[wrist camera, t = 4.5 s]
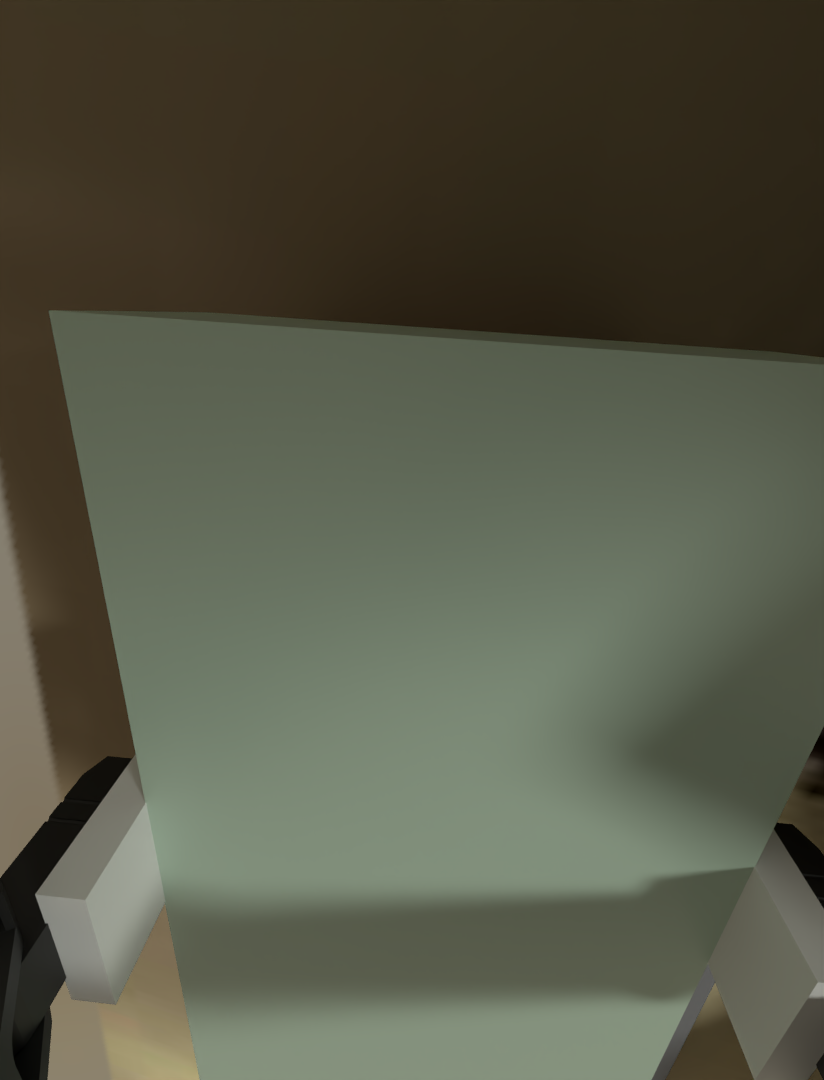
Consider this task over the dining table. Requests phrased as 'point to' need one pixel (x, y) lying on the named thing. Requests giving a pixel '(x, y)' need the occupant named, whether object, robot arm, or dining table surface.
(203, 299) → the dining table surface
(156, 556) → the sage green rectangular block
